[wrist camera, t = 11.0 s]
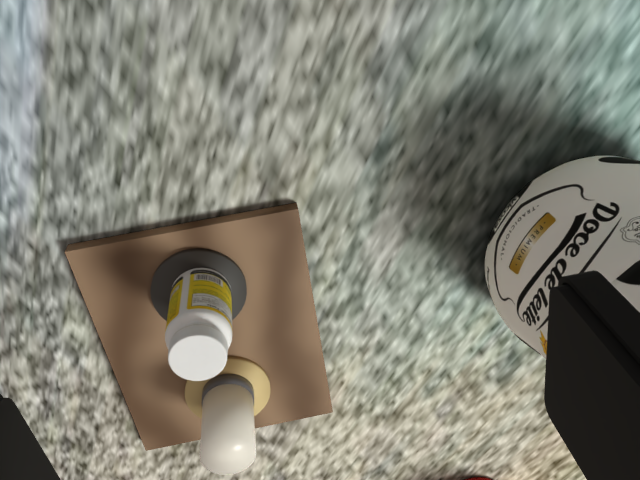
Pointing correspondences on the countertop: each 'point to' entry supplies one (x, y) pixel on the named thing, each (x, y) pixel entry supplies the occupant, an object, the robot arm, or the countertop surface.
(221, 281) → the supplement bottle
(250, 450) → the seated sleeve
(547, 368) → the robot arm
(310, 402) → the pin board
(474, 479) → the canned food
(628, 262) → the milk container
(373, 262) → the countertop surface
